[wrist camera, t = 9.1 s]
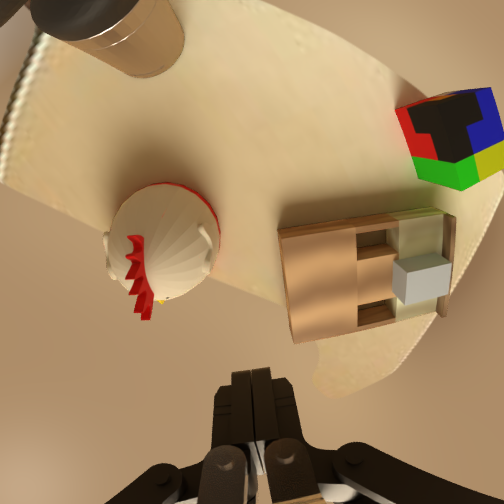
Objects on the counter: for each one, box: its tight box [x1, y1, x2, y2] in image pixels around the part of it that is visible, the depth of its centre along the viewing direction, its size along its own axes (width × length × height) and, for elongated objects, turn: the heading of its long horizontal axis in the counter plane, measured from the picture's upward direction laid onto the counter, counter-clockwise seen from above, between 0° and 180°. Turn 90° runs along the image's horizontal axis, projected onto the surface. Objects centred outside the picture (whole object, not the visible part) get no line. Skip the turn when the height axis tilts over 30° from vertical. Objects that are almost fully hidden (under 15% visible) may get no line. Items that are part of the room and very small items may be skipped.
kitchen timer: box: [103, 182, 220, 320], centre depth 33 cm, size 14×14×15 cm
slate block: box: [392, 252, 452, 306], centre depth 37 cm, size 4×7×4 cm, turn 99°
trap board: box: [277, 207, 456, 344], centre depth 39 cm, size 15×23×6 cm, turn 99°
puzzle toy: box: [395, 87, 504, 191], centre depth 31 cm, size 10×10×10 cm
